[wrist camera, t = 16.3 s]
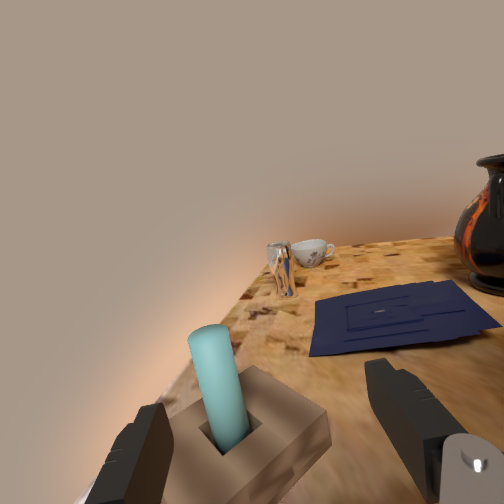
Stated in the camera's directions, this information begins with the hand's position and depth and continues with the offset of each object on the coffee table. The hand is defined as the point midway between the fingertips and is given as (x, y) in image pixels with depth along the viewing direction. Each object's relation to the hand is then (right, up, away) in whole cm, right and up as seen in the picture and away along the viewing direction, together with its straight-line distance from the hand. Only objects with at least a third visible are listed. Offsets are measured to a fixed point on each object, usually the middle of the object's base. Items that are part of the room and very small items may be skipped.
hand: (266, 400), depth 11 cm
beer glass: (+9, -7, +71) cm, 72 cm away
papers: (+27, -9, +48) cm, 56 cm away
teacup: (+22, +1, +94) cm, 96 cm away
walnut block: (-2, -19, +24) cm, 31 cm away
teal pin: (-2, -18, +24) cm, 30 cm away
